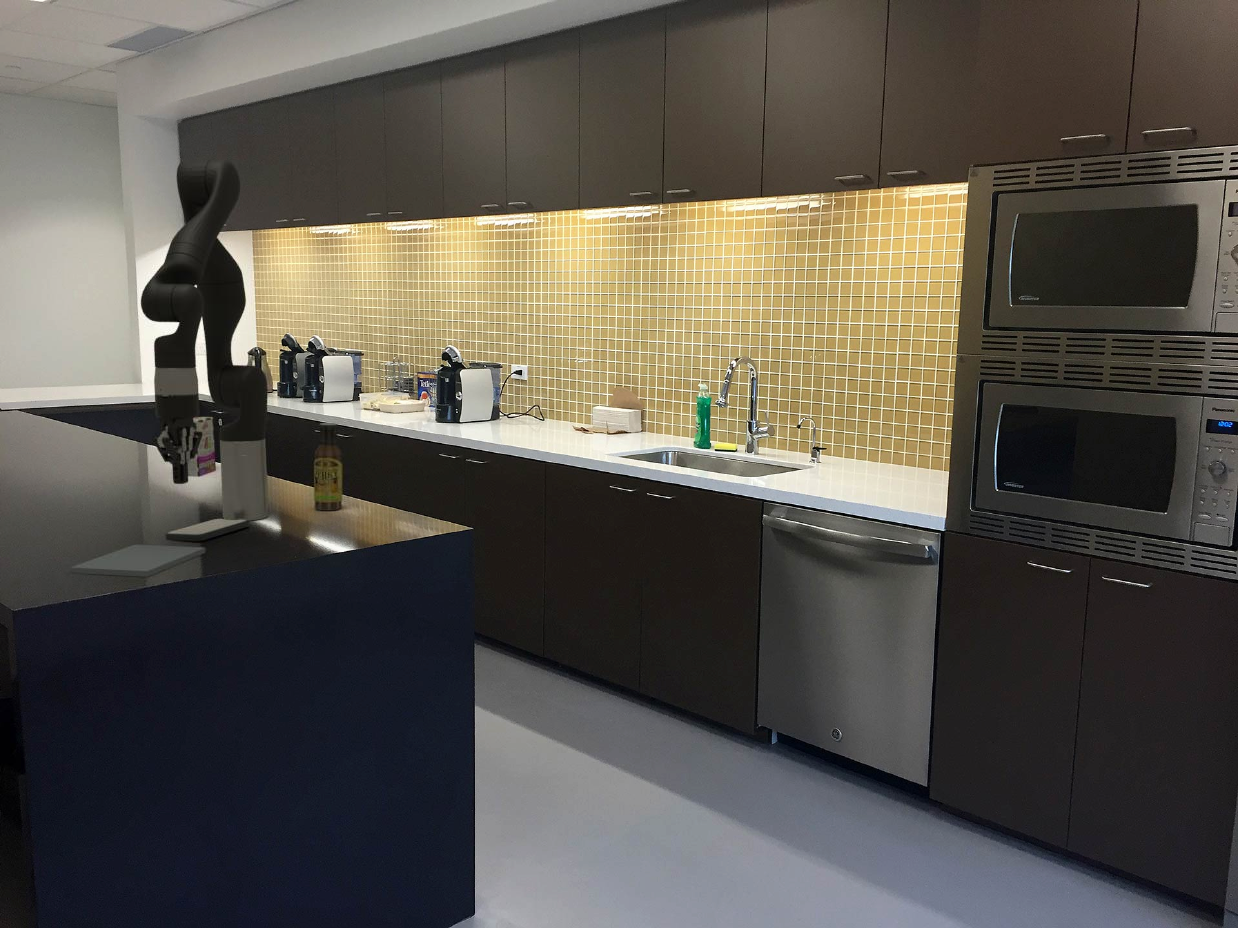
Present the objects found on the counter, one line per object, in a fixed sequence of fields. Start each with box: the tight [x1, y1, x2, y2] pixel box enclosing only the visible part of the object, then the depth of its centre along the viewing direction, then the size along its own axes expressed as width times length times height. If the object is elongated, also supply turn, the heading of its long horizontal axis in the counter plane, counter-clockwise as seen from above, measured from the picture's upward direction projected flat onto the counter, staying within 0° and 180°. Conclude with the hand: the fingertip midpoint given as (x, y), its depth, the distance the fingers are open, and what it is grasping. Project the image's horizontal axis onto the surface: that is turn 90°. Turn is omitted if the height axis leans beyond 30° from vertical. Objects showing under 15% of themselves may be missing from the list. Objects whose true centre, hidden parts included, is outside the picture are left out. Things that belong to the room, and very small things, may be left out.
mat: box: [69, 544, 206, 578], centre depth 175 cm, size 18×14×1 cm
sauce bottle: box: [313, 422, 343, 511], centre depth 226 cm, size 6×6×20 cm
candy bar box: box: [188, 416, 217, 478], centre depth 268 cm, size 11×5×16 cm, turn 179°
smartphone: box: [165, 518, 250, 542], centre depth 199 cm, size 9×2×16 cm
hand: (180, 483), depth 186 cm, fingers closed
